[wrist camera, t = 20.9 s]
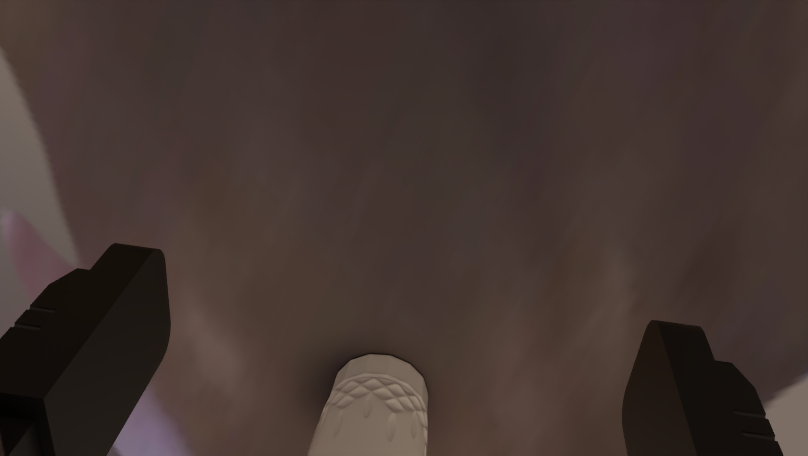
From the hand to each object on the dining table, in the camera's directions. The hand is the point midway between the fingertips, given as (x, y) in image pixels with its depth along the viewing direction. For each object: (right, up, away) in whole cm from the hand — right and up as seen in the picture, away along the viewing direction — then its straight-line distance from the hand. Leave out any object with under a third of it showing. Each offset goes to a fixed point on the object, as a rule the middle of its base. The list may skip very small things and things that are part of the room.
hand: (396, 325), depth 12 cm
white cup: (-2, -10, +42) cm, 43 cm away
